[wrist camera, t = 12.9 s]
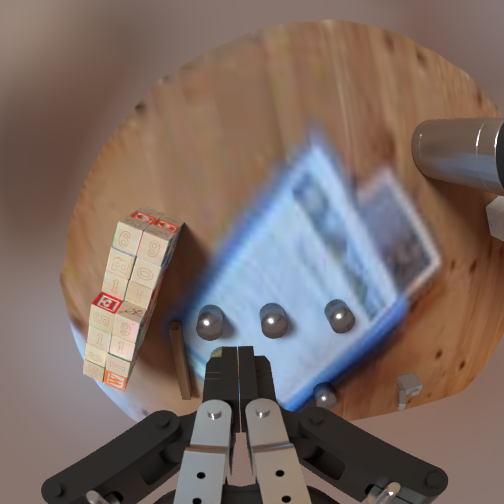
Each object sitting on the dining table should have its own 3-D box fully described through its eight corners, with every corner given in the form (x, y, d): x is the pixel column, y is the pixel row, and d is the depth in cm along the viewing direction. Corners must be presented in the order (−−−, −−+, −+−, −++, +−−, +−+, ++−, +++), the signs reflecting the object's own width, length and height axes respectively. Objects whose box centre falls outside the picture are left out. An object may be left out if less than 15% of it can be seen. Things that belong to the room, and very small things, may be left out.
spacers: (347, 298, 44) (356, 311, 40) (329, 397, 51) (334, 412, 47) (191, 305, 43) (187, 319, 39) (205, 405, 50) (204, 421, 46)
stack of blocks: (143, 204, 38) (107, 227, 26) (185, 221, 39) (165, 251, 27) (110, 327, 44) (81, 374, 32) (144, 341, 45) (123, 393, 33)
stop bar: (180, 321, 44) (178, 330, 41) (192, 390, 48) (190, 399, 46) (171, 321, 43) (168, 329, 41) (184, 389, 48) (182, 399, 46)
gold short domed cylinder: (240, 345, 46) (241, 359, 42) (241, 369, 47) (241, 383, 44) (209, 346, 45) (207, 359, 42) (211, 369, 47) (210, 383, 44)
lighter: (413, 372, 51) (431, 396, 43) (412, 377, 52) (428, 402, 44) (384, 380, 51) (400, 406, 43) (383, 385, 51) (398, 412, 44)
